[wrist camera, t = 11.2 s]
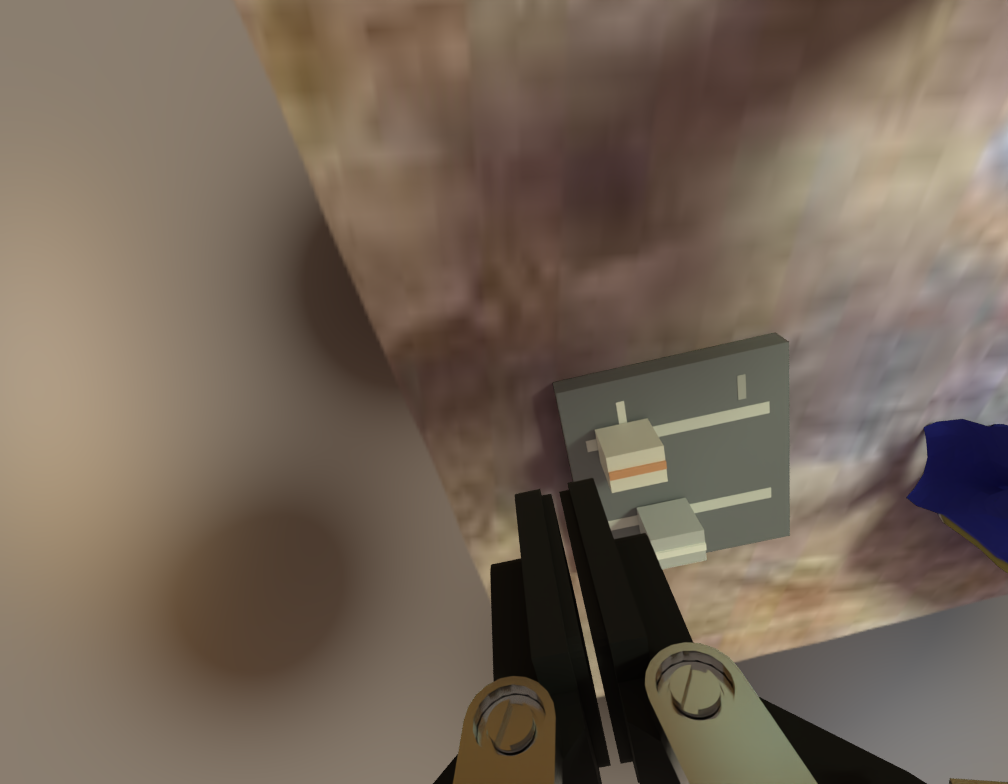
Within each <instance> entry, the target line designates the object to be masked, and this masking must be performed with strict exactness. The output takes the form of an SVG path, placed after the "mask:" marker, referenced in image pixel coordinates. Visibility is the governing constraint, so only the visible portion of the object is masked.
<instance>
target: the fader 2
mask: <svg viewBox="0 0 1008 784" xmlns="http://www.w3.org/2000/svg"><path fill="white" fill-rule="evenodd" d="M637 514H638V521H639V528H640V534H642V533H646V534H647V536H648V538H649V540H650V542H651V544H652V547H653V549H654V551H655V554H656V556H657V559H658V561H659V563H660V566H661V568H662V569H666V568H671V567H676V566H681V565H686V564H691V563H695V562H700V561H705V560H707V558H706V550H707V549H706V543H705V535H704V529H703V527H702V525H701V524H700V522H699V520H698V518H697V517H696V515H695V513H694V511H693V510H692V508H691V506H690V504H689V503H688V501H687V499H686V498H681V499H676V500H671V501H667V502H662V503H657V504H652V505H648V506H643V507H638V508H637Z"/></svg>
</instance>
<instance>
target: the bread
mask: <svg viewBox="0 0 1008 784" xmlns="http://www.w3.org/2000/svg"><path fill="white" fill-rule="evenodd" d="M924 431H925V436H926V443H927V456H928V458H927V462H926V466H925V470H924V474H923V475H922V477H921V479H920V480H919V482H918V483H917V485H916V486H915V488H914V489H913V490H912V492H911V493H910V494H909V495H908V496H907V497H906V498H907V499H909V500H910V501H911V502H912V503H914V504H915V505H916V506H919V507H922V508H924V509H927V510H930V511H933V512H936V513H938V515H939V517H940V518H941V520H942V522H943V523H945V524H946V525H948V526H949V527H950V528H952V529H953V530H955V531H956V532H958V533H959V534H961V535H962V536H963V537H965V538H966V539H967V540H969V541H970V542H971V543H973V544H974V545H975V546H976V547H978V548H979V549H980V550H981V551H983V552H984V553H985V554H986V555H987V556H988V557H989V558H990V559H991V560H992V561H993V562H994V563H995V564H996V565H997V566H998V567H1000V568H1001V569H1002V570H1004V571H1005V572H1006V573H1008V425H1004V424H994V425H993V426H985V425H982V424H978V423H975V422H971V421H968V420H964V419H958V420H949V421H939V422H935V423H933V424H930V425H928V426H925V427H924Z"/></svg>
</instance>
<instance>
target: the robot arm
mask: <svg viewBox="0 0 1008 784" xmlns="http://www.w3.org/2000/svg"><path fill="white" fill-rule="evenodd" d="M568 487H569V490H566V491H562V492H559V493H560V497H561V502H562V506H563V511H564V515H565V520H566V524H567V529H568V533H569V538H570V542H571V547H572V551H573V556H574V560H575V564H576V569H577V573H578V578H579V582H580V587H581V591H582V596H583V600H584V605H585V609H586V613H587V618H588V622H589V627H590V631H591V635H592V640H593V644H594V648H595V653H596V657H597V662H598V666H599V670H600V675H601V679H602V684H603V688H604V692H605V697H606V701H607V705H608V710H609V714H610V718H611V723H612V727H613V732H614V736H615V741H616V745H617V749H618V754H619V758H620V762H621V763H627V762H632V761H633V764H634V768H635V772H636V776H637V780H638V783H640V784H926V783H925V782H923V781H922V780H920V779H919V778H917V777H915V776H914V775H912V774H911V773H909V772H907V771H905V770H903V769H901V768H899V767H897V766H895V765H893V764H891V763H889V762H887V761H885V760H883V759H881V758H879V757H877V756H875V755H873V754H871V753H869V752H867V751H865V750H864V749H861V748H859V747H857V746H855V745H854V744H852V743H850V742H848V741H846V740H844V739H842V738H840V737H837V736H836V735H834V734H832V733H830V732H828V731H826V730H824V729H822V728H820V727H818V726H816V725H814V724H812V723H810V722H808V721H806V720H804V719H802V718H800V717H798V716H796V715H794V714H792V713H790V712H788V711H786V710H784V709H782V708H780V707H778V706H776V705H774V704H772V703H770V702H768V701H766V700H764V699H762V698H760V697H758V696H757V694H756V693H755V691H754V690H753V688H752V687H751V686H750V684H749V682H748V681H747V680H746V678H745V677H744V675H743V674H742V672H741V671H740V669H739V668H738V667H737V666H736V665H735V664H734V662H733V661H732V660H731V659H730V658H729V657H728V656H726V655H725V654H723V653H722V652H720V651H719V650H717V649H716V648H713V647H710V646H707V645H704V644H701V643H693V641H692V639H691V636H690V634H689V632H688V629H687V627H686V624H685V622H684V620H683V617H682V615H681V613H680V610H679V608H678V606H677V603H676V601H675V599H674V596H673V594H672V592H671V589H670V587H669V584H668V582H667V580H666V577H665V575H664V573H663V570H662V568H661V566H660V563H659V561H658V559H657V556H656V554H655V551H654V549H653V547H652V544H651V542H650V540H649V538H648V536H647V534H646V533H642V534H637V535H632V536H627V537H622V538H618V539H614V538H613V535H612V532H611V529H610V526H609V523H608V520H607V517H606V514H605V511H604V508H603V505H602V502H601V499H600V496H599V493H598V490H597V487H596V484H595V482H594V479H593V478H589V479H584V480H580V481H575V482H570V483H568ZM515 504H516V513H517V523H518V533H519V542H520V552H521V559H516V560H511V561H507V562H502V563H497V564H492V565H491V572H490V575H491V609H492V638H493V639H492V640H493V641H492V642H493V674H494V682H492V683H490V684H488V685H487V686H485V687H484V688H483V689H482V690H481V691H480V692H479V693H478V694H476V696H475V697H474V699H473V700H472V702H471V703H470V705H469V707H468V709H467V712H466V715H465V718H464V721H463V728H462V733H461V739H460V745H459V751H458V754H457V756H456V757H455V758H454V759H453V760H452V762H451V763H450V764H449V765H448V766H447V768H446V769H445V770H444V771H443V772H442V774H441V775H440V776H439V777H438V778H437V780H436V781H435V782H434V783H433V784H602V782H601V777H600V771H599V767H605V766H610V760H609V755H608V750H607V746H606V741H605V736H604V731H603V727H602V722H601V717H600V712H599V708H598V703H597V698H596V693H595V689H594V684H593V679H592V675H591V670H590V665H589V660H588V656H587V651H586V646H585V641H584V637H583V632H582V627H581V622H580V618H579V613H578V608H577V604H576V599H575V594H574V590H573V586H572V581H571V577H570V573H569V568H568V564H567V560H566V555H565V551H564V547H563V542H562V538H561V534H560V529H559V525H558V521H557V516H556V512H555V508H554V503H553V499H552V495H551V494H548V495H543V496H542V495H541V491H540V489H538V490H533V491H528V492H524V493H519V494H515ZM949 784H1008V782H997V781H982V780H967V779H954V778H953V779H952V778H950V780H949Z"/></svg>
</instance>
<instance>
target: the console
mask: <svg viewBox="0 0 1008 784" xmlns="http://www.w3.org/2000/svg"><path fill="white" fill-rule="evenodd" d="M553 388H554V392H555V397H556V402H557V407H558V412H559V416H560V421H561V426H562V431H563V436H564V441H565V445H566V450H567V455H568V460H569V465H570V469H571V474H572V479H573V482H575V481H580V480H584V479H589V478H593V479H594V482H595V484H596V487H597V490H598V493H599V496H600V499H601V502H602V505H603V508H604V511H605V514H606V517H607V520H608V523H609V526H610V529H611V532H612V535H613V538H614V539H618V538H622V537H627V536H632V535H637V534H640V528H639V521H638V514H637V508H638V507H643V506H648V505H652V504H657V503H662V502H667V501H671V500H676V499H681V498H686V499H687V501H688V503H689V504H690V506H691V508H692V510H693V511H694V513H695V515H696V517H697V518H698V520H699V522H700V524H701V525H702V527H703V529H704V535H705V543H706V549H707V550H706V553H707V552H712V551H716V550H721V549H726V548H731V547H736V546H741V545H746V544H751V543H756V542H761V541H766V540H770V539H775V538H780V537H785V536H790V503H789V341H787V340H786V339H784V338H783V337H781V336H780V335H778V334H777V333H771V334H767V335H762V336H758V337H753V338H749V339H745V340H740V341H736V342H731V343H727V344H722V345H718V346H713V347H709V348H704V349H700V350H695V351H691V352H687V353H682V354H678V355H673V356H669V357H664V358H660V359H655V360H651V361H646V362H642V363H637V364H633V365H629V366H624V367H620V368H615V369H611V370H606V371H602V372H597V373H593V374H588V375H584V376H580V377H575V378H571V379H566V380H562V381H557V382H553ZM646 418H648V420H649V422H650V424H651V425H652V427H653V429H654V430H655V432H656V434H657V435H658V437H659V439H660V440H661V442H662V444H663V445H664V452H665V460H666V463H667V478H668V481H667V482H662V483H658V484H653V485H648V486H643V487H639V488H634V489H629V490H624V491H620V492H615V493H612V492H611V489H610V487H609V484H608V481H607V479H606V476H605V473H604V471H603V468H602V465H601V463H600V457H599V451H598V446H597V440H596V435H595V430H596V429H600V428H605V427H609V426H614V425H618V424H623V423H628V422H632V421H637V420H641V419H646Z"/></svg>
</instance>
